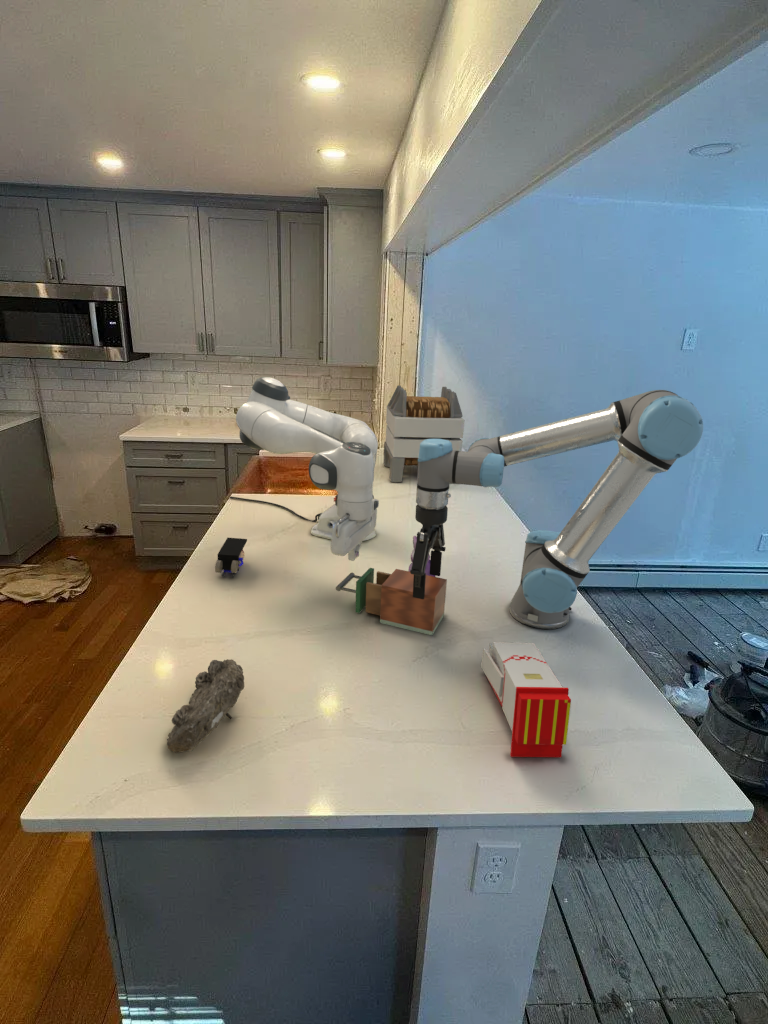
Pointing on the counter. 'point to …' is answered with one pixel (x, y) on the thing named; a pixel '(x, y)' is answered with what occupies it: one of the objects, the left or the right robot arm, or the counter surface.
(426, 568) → the figurine
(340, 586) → the drawer
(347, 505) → the left robot arm
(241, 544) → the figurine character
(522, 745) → the toy
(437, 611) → the cabinet
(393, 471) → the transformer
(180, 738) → the fossil
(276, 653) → the counter surface
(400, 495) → the counter surface
